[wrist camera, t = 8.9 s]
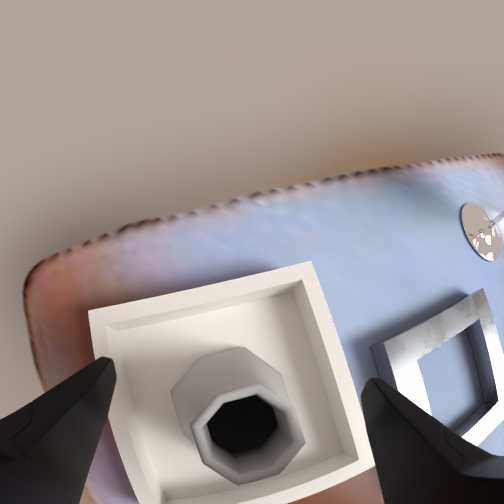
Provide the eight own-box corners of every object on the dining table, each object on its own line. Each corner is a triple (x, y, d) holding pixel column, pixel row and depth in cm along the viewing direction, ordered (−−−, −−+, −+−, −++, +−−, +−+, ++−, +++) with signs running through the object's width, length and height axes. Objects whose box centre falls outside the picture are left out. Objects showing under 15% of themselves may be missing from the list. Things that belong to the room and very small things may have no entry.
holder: (498, 409, 17) (512, 407, 15) (406, 486, 14) (420, 492, 12) (469, 294, 22) (482, 287, 20) (369, 346, 19) (383, 342, 17)
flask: (151, 385, 16) (81, 388, 7) (247, 327, 18) (279, 273, 9) (217, 476, 14) (218, 561, 5) (311, 416, 16) (400, 442, 7)
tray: (355, 455, 15) (376, 464, 13) (159, 509, 12) (151, 527, 10) (298, 277, 21) (311, 260, 18) (105, 320, 18) (88, 310, 15)
